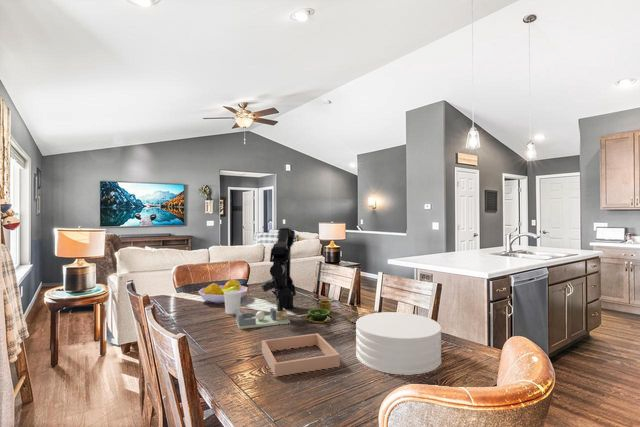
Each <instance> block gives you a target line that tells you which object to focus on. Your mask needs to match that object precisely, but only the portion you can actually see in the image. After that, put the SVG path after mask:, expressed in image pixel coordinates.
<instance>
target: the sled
mask: <svg viewBox="0 0 640 427" xmlns="http://www.w3.org/2000/svg"><path fill="white" fill-rule="evenodd" d="M276 303H277V304H276V306H277V308H274V307H271V308H270V309H269V310H270V312H269V315H270V317H271V318H272V320H279V319H287V318H288V311H287V309H284V308H282V309H280V308H279V302H278V299H277V300H276Z"/></svg>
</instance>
